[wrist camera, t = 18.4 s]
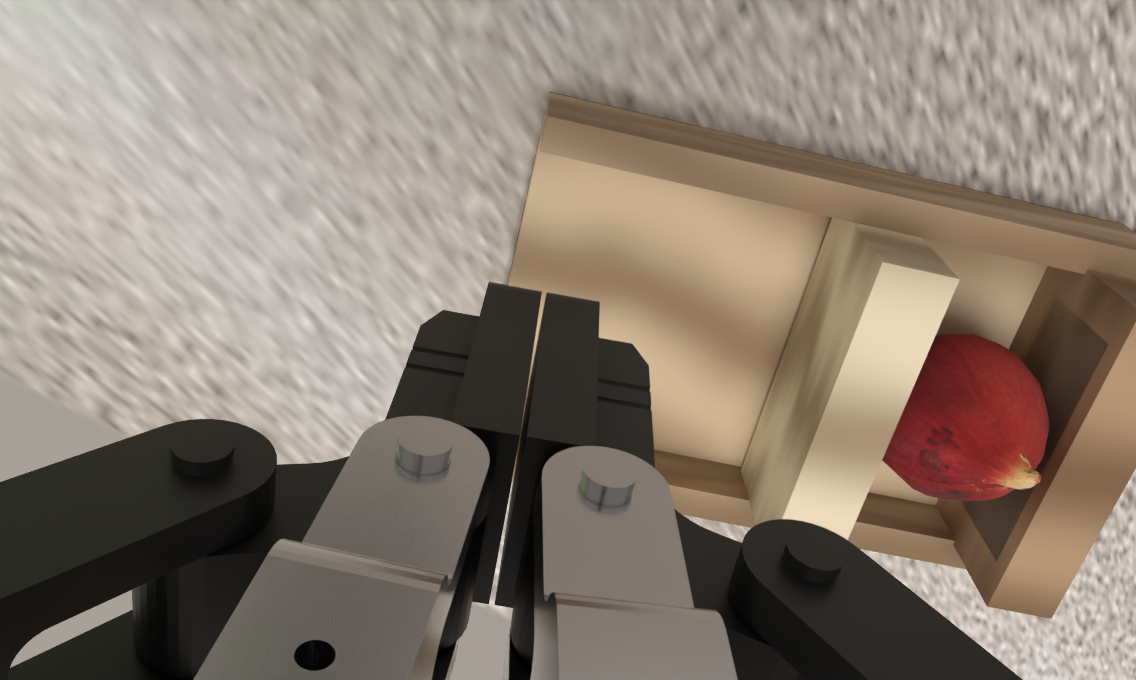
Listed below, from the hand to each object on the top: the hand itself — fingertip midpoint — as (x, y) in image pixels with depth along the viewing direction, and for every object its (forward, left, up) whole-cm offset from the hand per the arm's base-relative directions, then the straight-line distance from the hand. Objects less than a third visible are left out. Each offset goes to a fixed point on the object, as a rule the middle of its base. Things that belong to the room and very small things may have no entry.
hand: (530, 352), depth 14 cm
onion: (+8, +16, -23) cm, 29 cm away
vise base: (+9, +11, -24) cm, 28 cm away
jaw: (+9, +12, -22) cm, 27 cm away
